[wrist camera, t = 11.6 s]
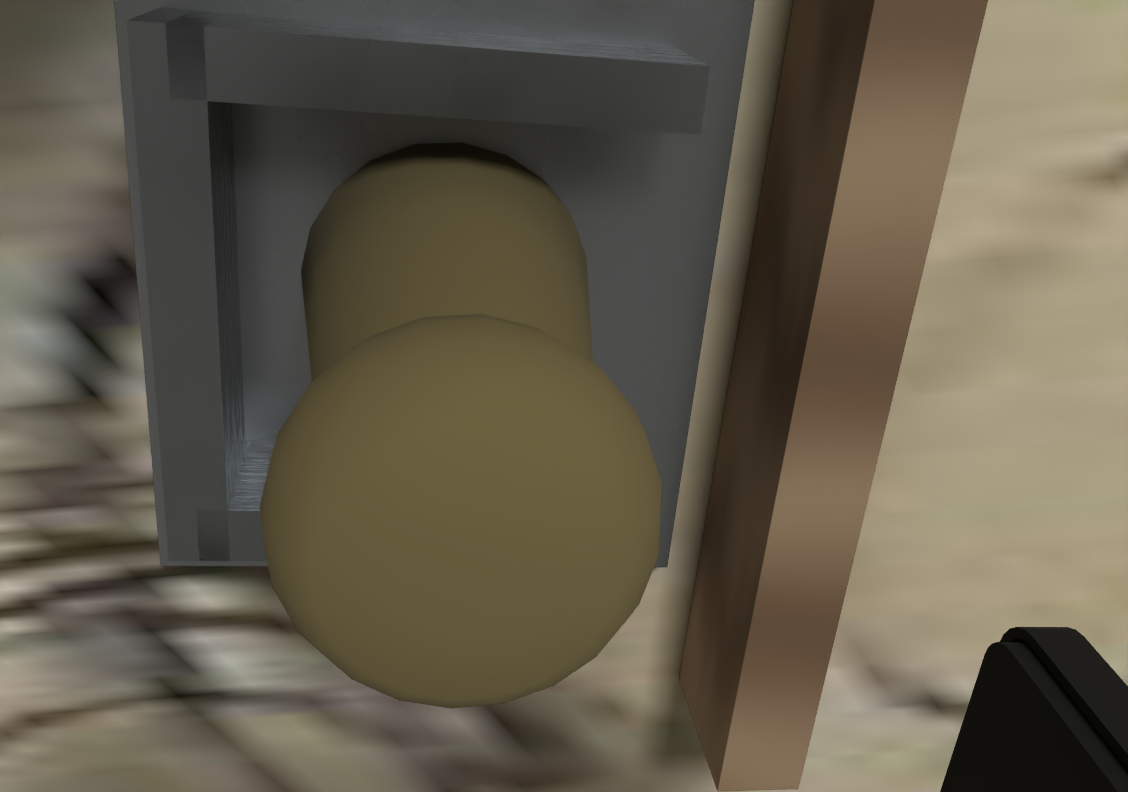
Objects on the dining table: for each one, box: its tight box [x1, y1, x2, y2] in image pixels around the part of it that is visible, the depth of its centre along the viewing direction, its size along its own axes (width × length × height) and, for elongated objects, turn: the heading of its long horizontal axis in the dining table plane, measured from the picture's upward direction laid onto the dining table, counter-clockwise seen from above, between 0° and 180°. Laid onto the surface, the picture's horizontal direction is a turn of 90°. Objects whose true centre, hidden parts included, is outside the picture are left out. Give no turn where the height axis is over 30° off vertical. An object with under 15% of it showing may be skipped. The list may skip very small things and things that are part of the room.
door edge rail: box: [679, 0, 988, 791], centre depth 22 cm, size 22×2×4 cm, turn 175°
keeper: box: [114, 0, 755, 567], centre depth 21 cm, size 14×12×3 cm
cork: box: [259, 143, 661, 708], centre depth 17 cm, size 6×6×11 cm
